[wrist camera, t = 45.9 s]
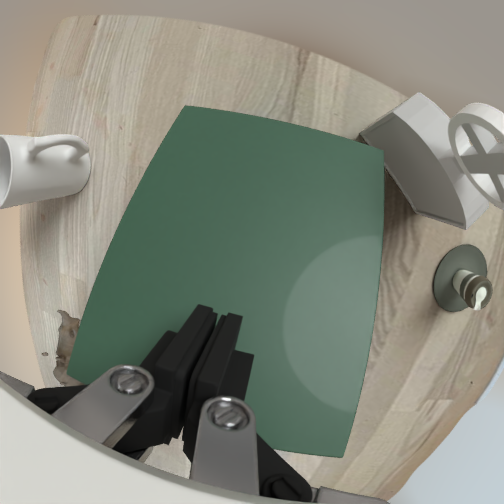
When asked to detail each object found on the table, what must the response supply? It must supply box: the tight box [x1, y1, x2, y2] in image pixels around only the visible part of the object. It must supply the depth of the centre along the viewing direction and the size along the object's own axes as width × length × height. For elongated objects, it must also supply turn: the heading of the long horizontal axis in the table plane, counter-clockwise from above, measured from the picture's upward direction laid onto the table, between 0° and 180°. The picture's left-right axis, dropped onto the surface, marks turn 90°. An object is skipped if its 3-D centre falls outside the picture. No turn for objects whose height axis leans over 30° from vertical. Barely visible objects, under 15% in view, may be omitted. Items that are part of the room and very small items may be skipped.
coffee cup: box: [434, 245, 493, 312], centre depth 24 cm, size 12×12×5 cm
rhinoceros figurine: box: [42, 310, 85, 387], centre depth 30 cm, size 8×14×15 cm
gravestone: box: [359, 92, 504, 230], centre depth 16 cm, size 3×9×18 cm, turn 40°
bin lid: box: [66, 106, 384, 458], centre depth 13 cm, size 16×13×1 cm
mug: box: [0, 134, 91, 209], centre depth 22 cm, size 10×7×12 cm, turn 108°
